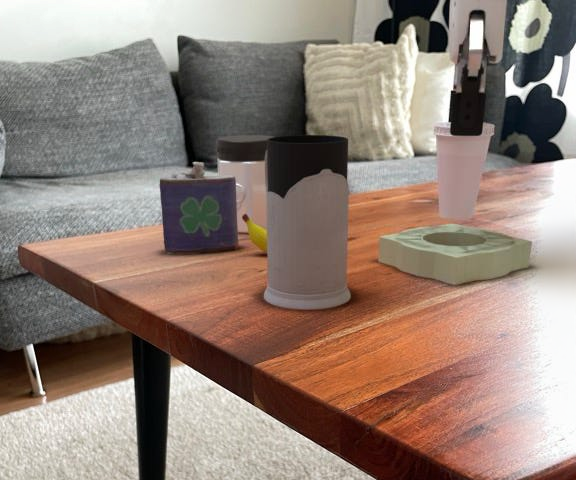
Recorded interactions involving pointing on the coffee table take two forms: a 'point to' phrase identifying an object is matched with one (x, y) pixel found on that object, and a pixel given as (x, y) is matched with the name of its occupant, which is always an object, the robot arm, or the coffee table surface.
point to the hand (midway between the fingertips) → (464, 130)
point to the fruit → (256, 234)
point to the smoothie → (460, 169)
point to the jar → (246, 175)
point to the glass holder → (307, 221)
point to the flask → (199, 212)
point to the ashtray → (454, 253)
